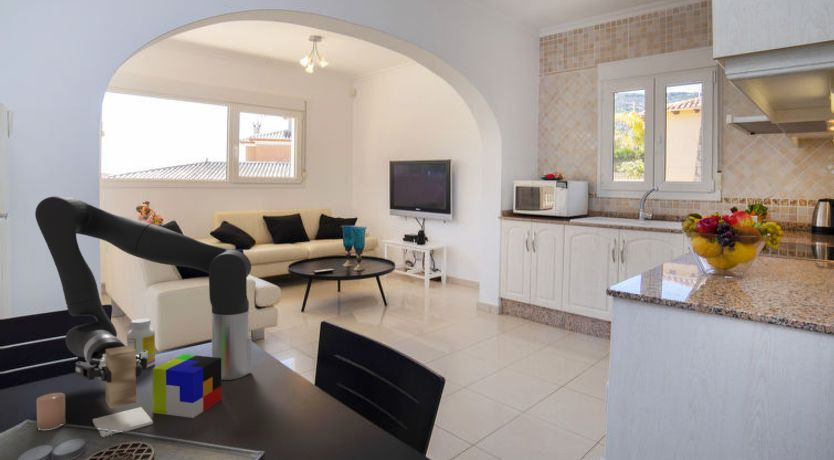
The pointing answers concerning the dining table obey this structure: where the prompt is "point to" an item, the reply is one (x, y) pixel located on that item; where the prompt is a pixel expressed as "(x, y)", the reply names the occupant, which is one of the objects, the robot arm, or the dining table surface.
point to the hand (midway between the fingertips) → (124, 374)
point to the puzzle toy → (186, 385)
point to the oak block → (121, 376)
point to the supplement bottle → (142, 339)
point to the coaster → (123, 421)
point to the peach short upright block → (50, 410)
